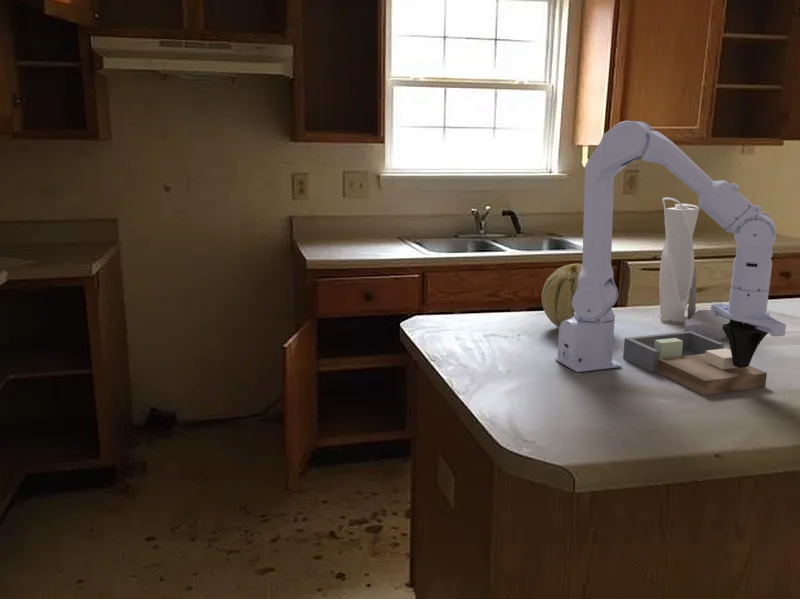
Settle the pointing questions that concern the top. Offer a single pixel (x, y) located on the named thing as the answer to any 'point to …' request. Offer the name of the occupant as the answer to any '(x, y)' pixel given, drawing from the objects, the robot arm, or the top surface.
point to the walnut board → (710, 375)
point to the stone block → (707, 325)
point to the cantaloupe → (560, 293)
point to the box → (647, 356)
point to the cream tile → (720, 358)
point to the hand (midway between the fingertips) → (740, 366)
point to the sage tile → (669, 347)
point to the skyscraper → (678, 264)
